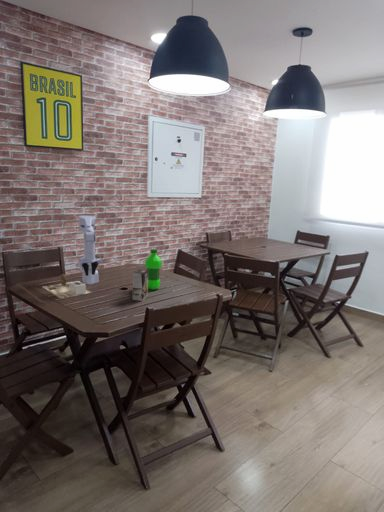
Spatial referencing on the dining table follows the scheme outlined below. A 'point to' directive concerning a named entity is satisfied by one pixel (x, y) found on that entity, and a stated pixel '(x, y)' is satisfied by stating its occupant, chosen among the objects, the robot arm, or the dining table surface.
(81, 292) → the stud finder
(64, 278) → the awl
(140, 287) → the coffee box
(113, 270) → the dining table surface
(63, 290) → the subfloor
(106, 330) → the dining table surface
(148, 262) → the plastic bottle
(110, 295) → the dining table surface
